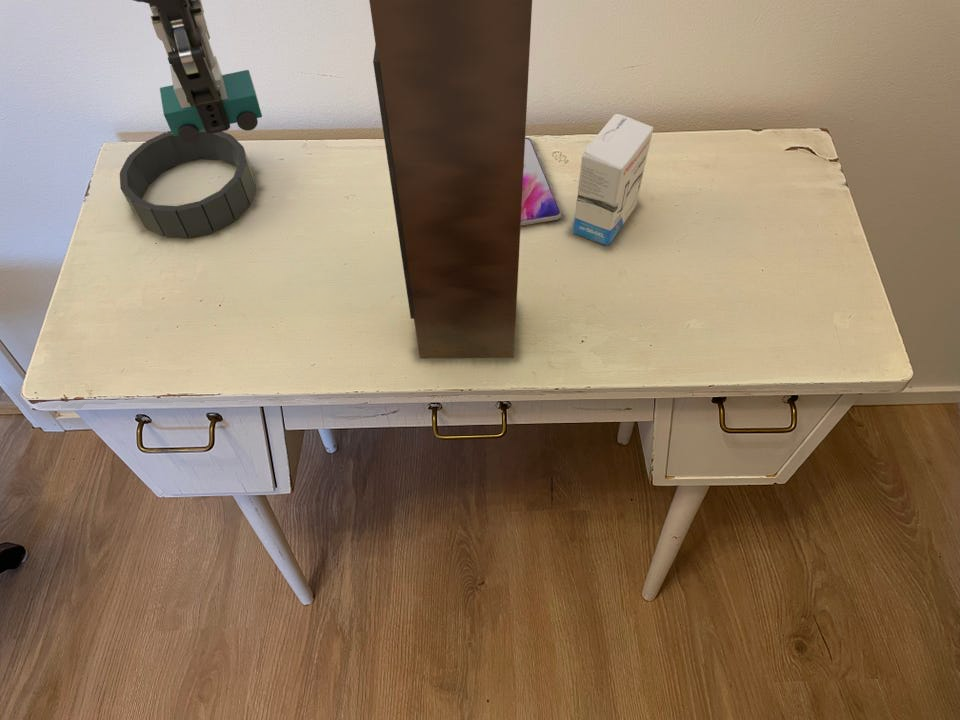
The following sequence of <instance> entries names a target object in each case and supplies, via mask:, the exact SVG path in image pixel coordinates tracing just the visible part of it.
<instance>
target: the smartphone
mask: <svg viewBox="0 0 960 720" xmlns="http://www.w3.org/2000/svg"><path fill="white" fill-rule="evenodd" d="M561 217H562V212H561V208H560V206H559V204H558V202H557V199H556V197H555V194H554V192H553V189H552V186H551V185H550V182H549V179H548V177H547V174H546V172H545V169H544V167H543V164H542V162H541V160H540V157H539V155H538V152H537V150H536V147H535V145H534V143H533V141H532V139H531V138H530V137H526V136H525V151H524V170H523V189H522V209H521V226H526V225H533V224H539V223H545V222H551V221H556V220H559V219H560V218H561Z"/></svg>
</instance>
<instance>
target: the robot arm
mask: <svg viewBox="0 0 960 720" xmlns="http://www.w3.org/2000/svg"><path fill="white" fill-rule="evenodd" d="M132 1H133V2H137V3H144V4H148V6H149V8H150V12H151V13H152V15H150V20H151V23H152V26H153V29H154V32H155V34H156V36H157V38H158V40H160V41H161V42H162V44H163V46H164V49H165V52H166V55H167V61H168V63H169V65H172V68H173V71H174V72H175V73H176V76H177V78H178V80H179V82H180V84H181V86H182V88H183V91H184V93H185V95H186V99H187V102H188V103H190V106H191V107H194V106H196V108H197V111H198V113H199V116H200V118H201V121H202V123H203V126H204V129H205V131H206V132H207V133H210V134H212V133H217V132H225V131H228V130H229V129H230V128H231V124H230V123H229V119H228V116H227V113H226V111H225V108H224V105H223V102H222V99H221V97H220V96H221V94H220V91H219V90H220V86H219V84H217V82H216V79H215V76H214V73H213V70H212V69H213V68H214V67H215V57H214V56H215V54H214V52H213V48H212V45H211V42H210V38H211V35H210V32H209V29H208V25H207V20H206V17H205V14H204V13H205V10H204V7H203V3H202V0H132Z"/></svg>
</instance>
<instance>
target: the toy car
mask: <svg viewBox="0 0 960 720" xmlns="http://www.w3.org/2000/svg"><path fill="white" fill-rule="evenodd" d="M214 57H215V67H214V68H213V69H212V70H213V73H214V76H215V79H216V82H217V84H219V86H220V90H219V91H220V94H221V96H220V97H221V99H222V102H223V105H224V108H225V111H226V113H227V116H228V119H229V123H230V125H232V124H236V125H237V126H238V127H239V129H241V130H243V131H247V132H249V131H253V130H254V129H256V128H257V126H258V124H259V123H258V119H261V118H263V114H262V111H261V106H260V103H259V99H258V96H257V92H256V89H255V86H254V83H253V78H252V76H251V73H250V69H245V70H240V71H235V72H230V73H225V74H223V73H222V71H221V67H220V64H219V62H218V58H217V56H216V55H214ZM169 69H170V74H171V81H172V85H167V86H162V87H159V94H160V99H161V104H162V105H161V107H162V112H163V117H164V118H165V121H166V123H167V125H168V127H169V129H170V130H169V131H171V132H172V134H173V136H177V135H179V138H180V139H181V140H182V141H183V142H186V143H194V142H196V141H197V140H198V139H199V138H200V132H199V131H200V130H205V129H204V126H203V123H202V121H201V118H200V116H199V113H198V111H197V108H196V106H194V107H191V106H190V103H188V102H187V99H186V95H185V93H184V91H183V88H182V86H181V84H180V82H179V80H178V78H177V76H176V73H175V72H174V71H173V68H172V65H171V64H169Z"/></svg>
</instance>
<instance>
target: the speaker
mask: <svg viewBox="0 0 960 720" xmlns="http://www.w3.org/2000/svg"><path fill="white" fill-rule="evenodd" d="M368 1H369V9H370V15H371V23H372V31H373V36H374V37H373V38H374V44H375V46H374V52H373V59H372V65H373V71H374V77H375V83H376V91H377V98H378V104H379V112H380V118H381V124H382V131H383V132H382V134H383V138H384V144H385V145H384V146H385V152H386V159H387V166H388V172H389V173H388V174H389V179H390V186H391V194H392V201H393V207H394V214H395V220H396V221H395V222H396V228H397V235H398V241H399V242H398V243H399V250H400V256H401V261H402V269H403V276H404V282H405V289H406V295H407V296H406V297H407V304H408V309H409V316H410V319H411V320H413V321H414V322H413V323H414V330H415V335H416V343H417V350H418V357H419V359H492V358H493V359H499V358H500V359H505V358H506V359H509V358H514V357H515V342H516V341H515V340H516V323H517V304H518V286H519V266H520V265H519V263H520V245H521V228H522V227H521V226H522V225H521V209H522V189H523V170H524V151H525V137H526V131H527V111H528V110H527V108H528V107H527V106H528V92H529V91H528V90H529V74H530V73H529V71H530V53H531V35H532V34H531V33H532V32H531V31H532V16H533V15H532V13H533V0H368Z"/></svg>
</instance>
